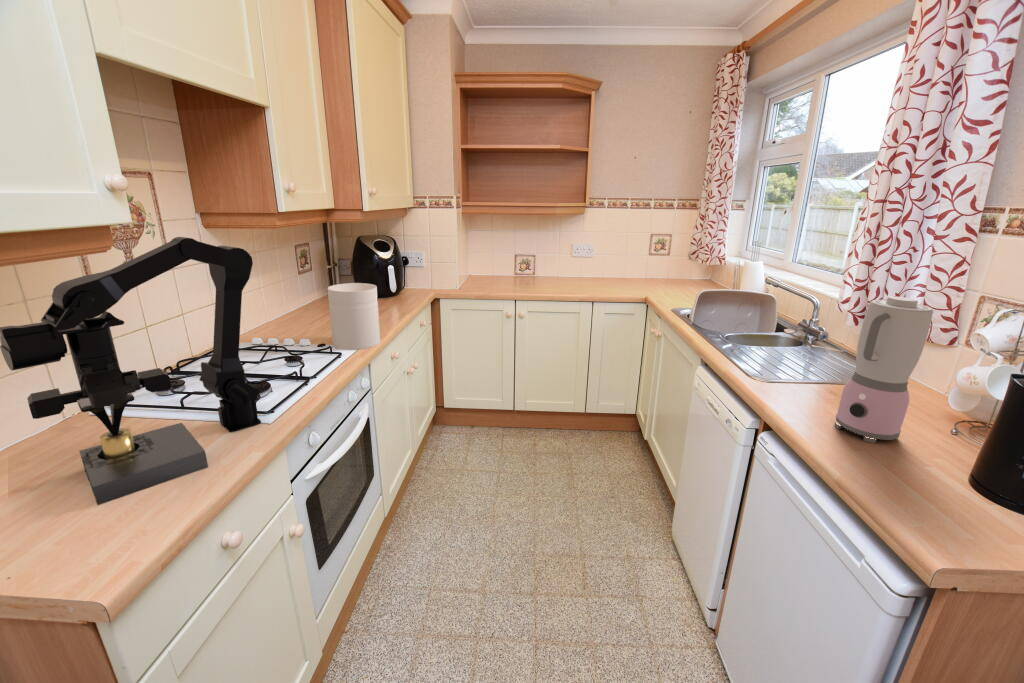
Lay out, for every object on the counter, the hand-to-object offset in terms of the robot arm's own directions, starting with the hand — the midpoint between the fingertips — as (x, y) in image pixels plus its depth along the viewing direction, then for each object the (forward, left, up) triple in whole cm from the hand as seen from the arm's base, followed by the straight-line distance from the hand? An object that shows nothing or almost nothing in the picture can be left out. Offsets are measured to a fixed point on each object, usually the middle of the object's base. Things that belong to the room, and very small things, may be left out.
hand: (115, 433), depth 84 cm
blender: (-120, +101, -7) cm, 157 cm away
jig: (-3, +3, -7) cm, 8 cm away
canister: (-71, -40, -7) cm, 82 cm away
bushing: (0, 0, -7) cm, 7 cm away
